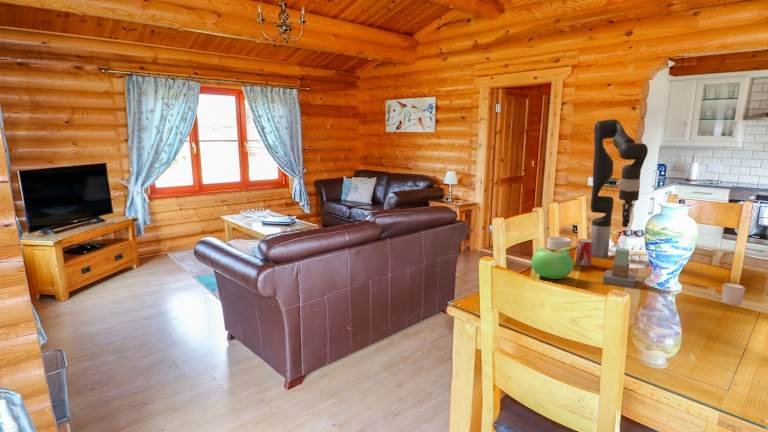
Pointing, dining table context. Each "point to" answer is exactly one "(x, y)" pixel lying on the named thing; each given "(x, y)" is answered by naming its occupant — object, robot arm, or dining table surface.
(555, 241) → the mug
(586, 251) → the soda can
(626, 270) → the walnut block
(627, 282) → the slate base
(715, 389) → the dining table surface
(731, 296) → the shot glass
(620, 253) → the teal block
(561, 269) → the green round pot
